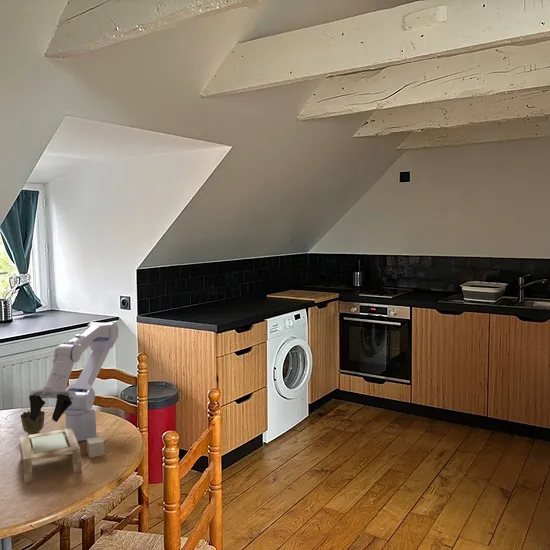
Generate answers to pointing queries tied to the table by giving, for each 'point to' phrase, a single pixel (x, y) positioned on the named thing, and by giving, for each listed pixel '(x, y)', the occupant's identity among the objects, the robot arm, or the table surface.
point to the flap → (48, 443)
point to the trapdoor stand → (29, 456)
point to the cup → (32, 423)
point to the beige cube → (95, 446)
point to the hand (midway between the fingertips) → (43, 420)
